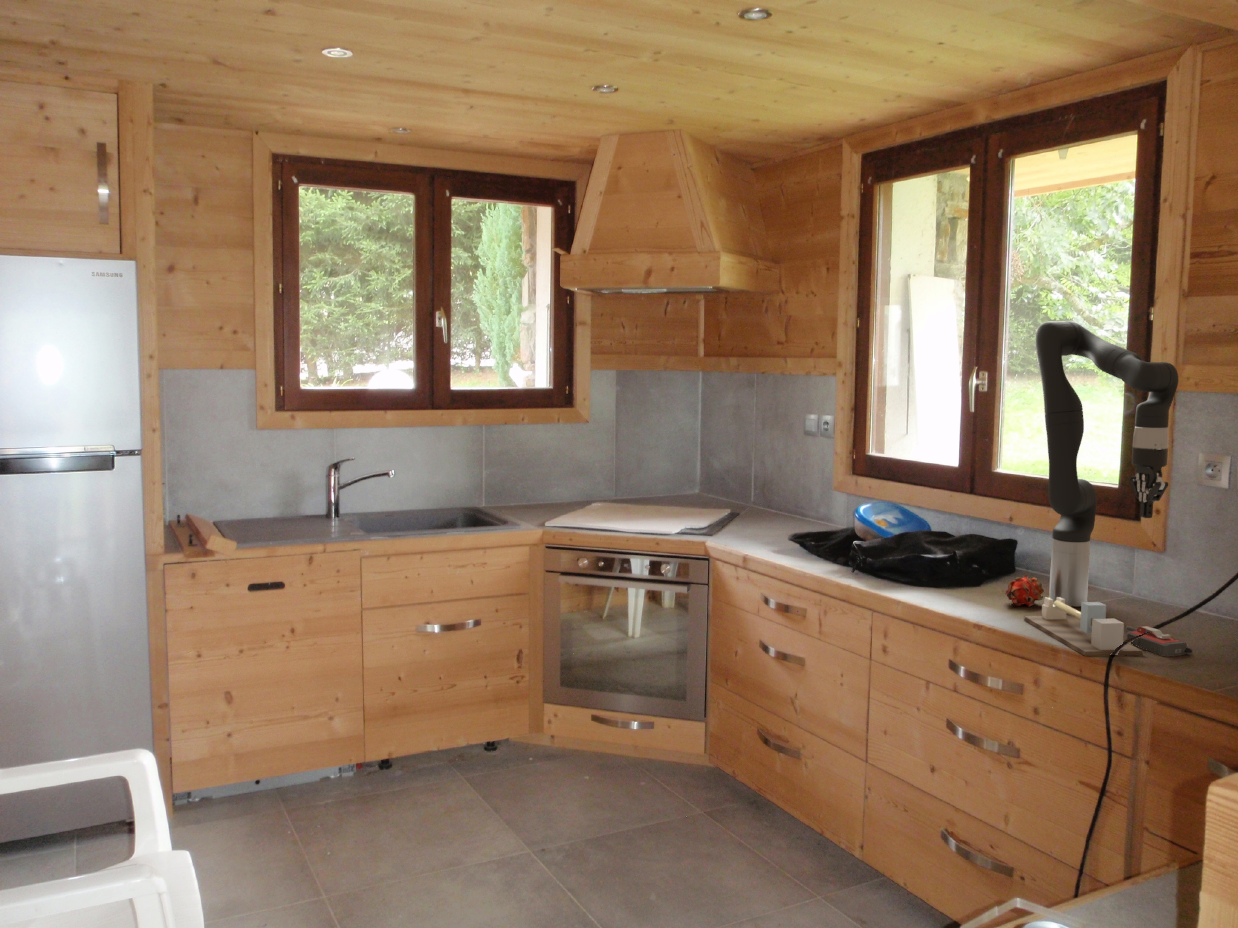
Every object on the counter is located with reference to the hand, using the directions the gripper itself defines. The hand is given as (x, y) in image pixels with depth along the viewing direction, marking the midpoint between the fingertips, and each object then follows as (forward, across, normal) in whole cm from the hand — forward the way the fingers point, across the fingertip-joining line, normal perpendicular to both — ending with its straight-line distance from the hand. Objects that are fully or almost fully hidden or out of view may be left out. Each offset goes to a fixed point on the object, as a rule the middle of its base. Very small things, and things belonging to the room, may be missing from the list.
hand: (1146, 517), depth 239 cm
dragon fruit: (+27, -22, -19) cm, 40 cm away
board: (+27, +8, -19) cm, 34 cm away
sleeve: (+24, +14, -19) cm, 34 cm away
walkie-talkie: (+28, +14, -6) cm, 32 cm away
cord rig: (+27, +8, -19) cm, 34 cm away
